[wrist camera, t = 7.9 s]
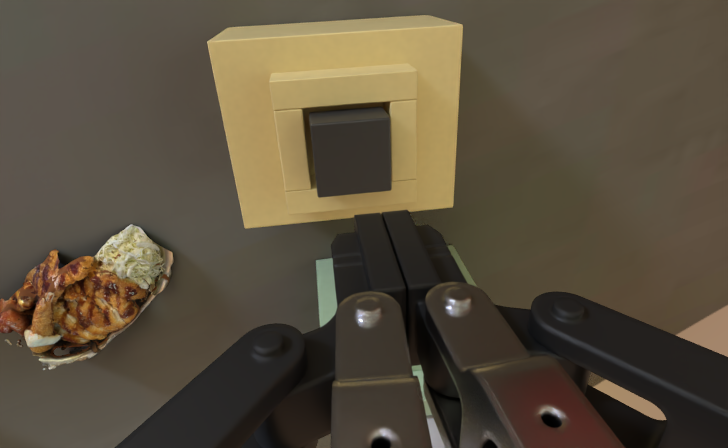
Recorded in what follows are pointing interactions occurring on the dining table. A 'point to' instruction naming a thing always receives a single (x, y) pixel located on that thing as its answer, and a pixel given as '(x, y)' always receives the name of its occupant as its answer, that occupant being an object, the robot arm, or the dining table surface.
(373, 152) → the charcoal square push button
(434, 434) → the round grey push button
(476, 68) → the dining table surface
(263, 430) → the robot arm
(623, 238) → the dining table surface
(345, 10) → the dining table surface
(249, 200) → the block
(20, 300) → the barbecue chicken platter
